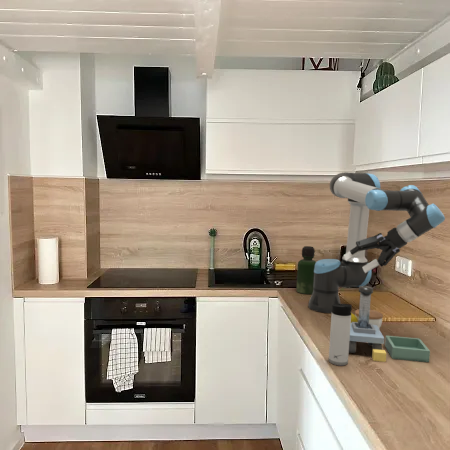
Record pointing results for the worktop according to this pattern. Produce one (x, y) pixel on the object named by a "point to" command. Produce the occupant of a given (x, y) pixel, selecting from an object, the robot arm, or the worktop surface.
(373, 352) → the block
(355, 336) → the blue recessed platform
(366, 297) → the clear capped cylinder
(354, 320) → the lemon
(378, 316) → the lidded jar
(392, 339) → the tray
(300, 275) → the green bottle
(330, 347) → the travel mug
